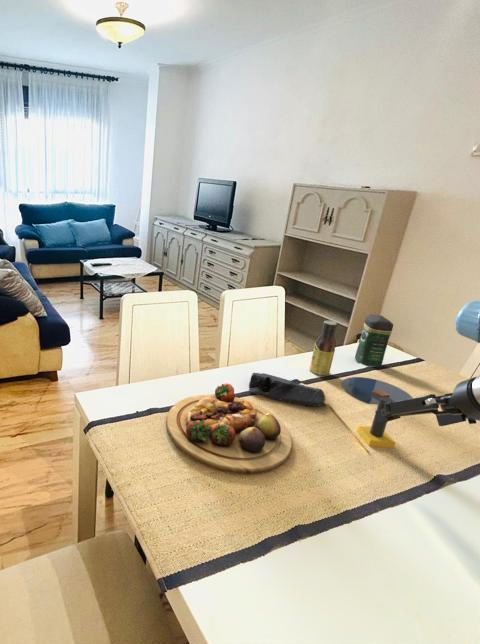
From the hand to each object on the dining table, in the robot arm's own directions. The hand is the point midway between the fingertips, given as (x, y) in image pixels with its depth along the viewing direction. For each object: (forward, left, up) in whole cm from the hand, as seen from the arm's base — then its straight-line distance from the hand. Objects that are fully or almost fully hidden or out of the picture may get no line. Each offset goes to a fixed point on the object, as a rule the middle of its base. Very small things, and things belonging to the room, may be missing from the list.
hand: (408, 418), depth 87 cm
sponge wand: (0, -8, -13) cm, 16 cm away
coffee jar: (-25, -58, -14) cm, 64 cm away
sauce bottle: (-2, -46, -14) cm, 48 cm away
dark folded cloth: (+14, -32, -14) cm, 37 cm away
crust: (-15, -32, -12) cm, 37 cm away
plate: (-15, -34, -13) cm, 39 cm away
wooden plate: (+37, -9, -14) cm, 41 cm away
